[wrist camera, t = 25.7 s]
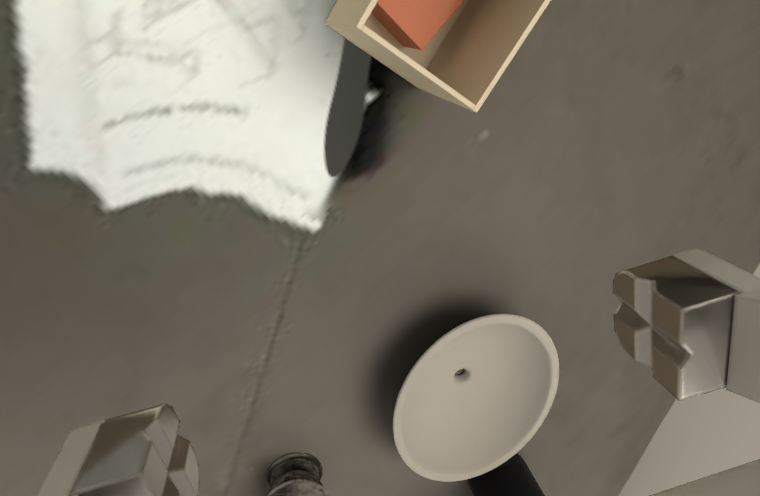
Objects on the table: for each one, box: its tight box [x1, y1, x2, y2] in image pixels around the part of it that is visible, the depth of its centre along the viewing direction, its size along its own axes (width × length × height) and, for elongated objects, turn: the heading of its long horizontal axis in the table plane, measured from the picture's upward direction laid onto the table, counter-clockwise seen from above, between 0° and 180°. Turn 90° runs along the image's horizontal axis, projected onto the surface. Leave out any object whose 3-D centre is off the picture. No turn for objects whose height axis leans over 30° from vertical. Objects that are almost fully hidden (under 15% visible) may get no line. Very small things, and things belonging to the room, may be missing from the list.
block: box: [371, 0, 464, 50], centre depth 33 cm, size 4×4×4 cm
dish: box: [393, 314, 559, 482], centre depth 47 cm, size 18×14×5 cm
